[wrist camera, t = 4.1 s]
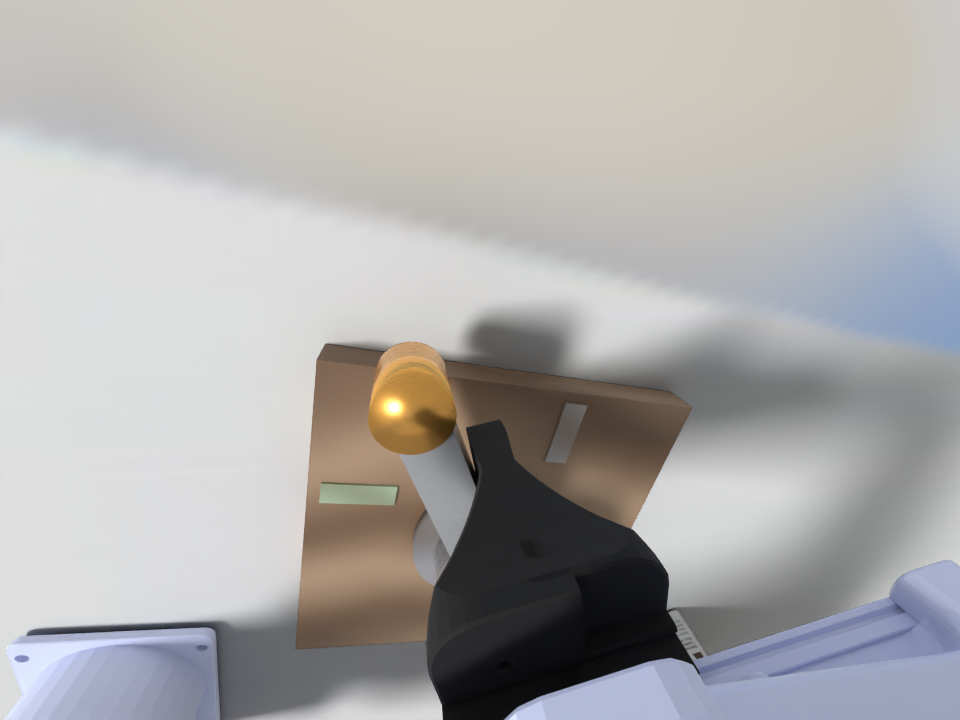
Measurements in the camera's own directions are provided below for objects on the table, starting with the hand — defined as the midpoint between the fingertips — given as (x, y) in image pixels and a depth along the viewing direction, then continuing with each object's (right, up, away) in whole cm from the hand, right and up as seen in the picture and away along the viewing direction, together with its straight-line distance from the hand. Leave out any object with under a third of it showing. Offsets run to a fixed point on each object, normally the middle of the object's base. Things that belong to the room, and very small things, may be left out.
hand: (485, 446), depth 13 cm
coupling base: (0, -5, +6) cm, 8 cm away
